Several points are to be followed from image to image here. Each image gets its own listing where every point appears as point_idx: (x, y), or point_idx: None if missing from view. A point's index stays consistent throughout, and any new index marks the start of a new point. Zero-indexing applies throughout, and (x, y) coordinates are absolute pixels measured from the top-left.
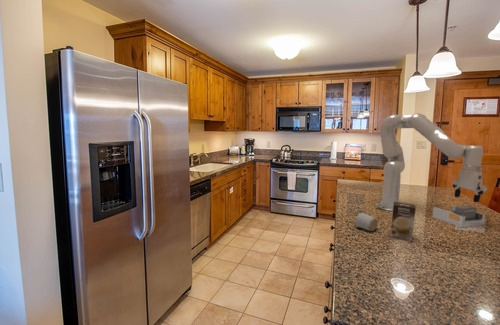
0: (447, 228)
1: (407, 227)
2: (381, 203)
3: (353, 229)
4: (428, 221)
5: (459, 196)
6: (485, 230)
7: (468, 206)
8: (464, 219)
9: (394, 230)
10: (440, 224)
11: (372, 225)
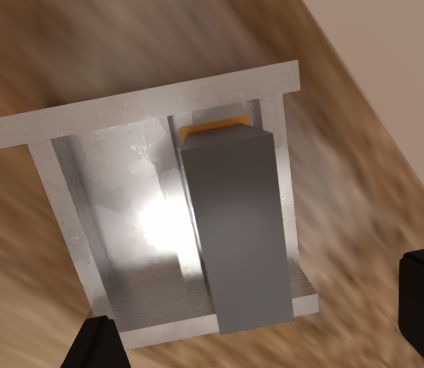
0: (288, 339)
1: None
2: None
3: None
4: (185, 361)
5: (114, 329)
6: (350, 164)
7: (226, 198)
8: (307, 282)
9: None
10: (233, 334)
11: None
